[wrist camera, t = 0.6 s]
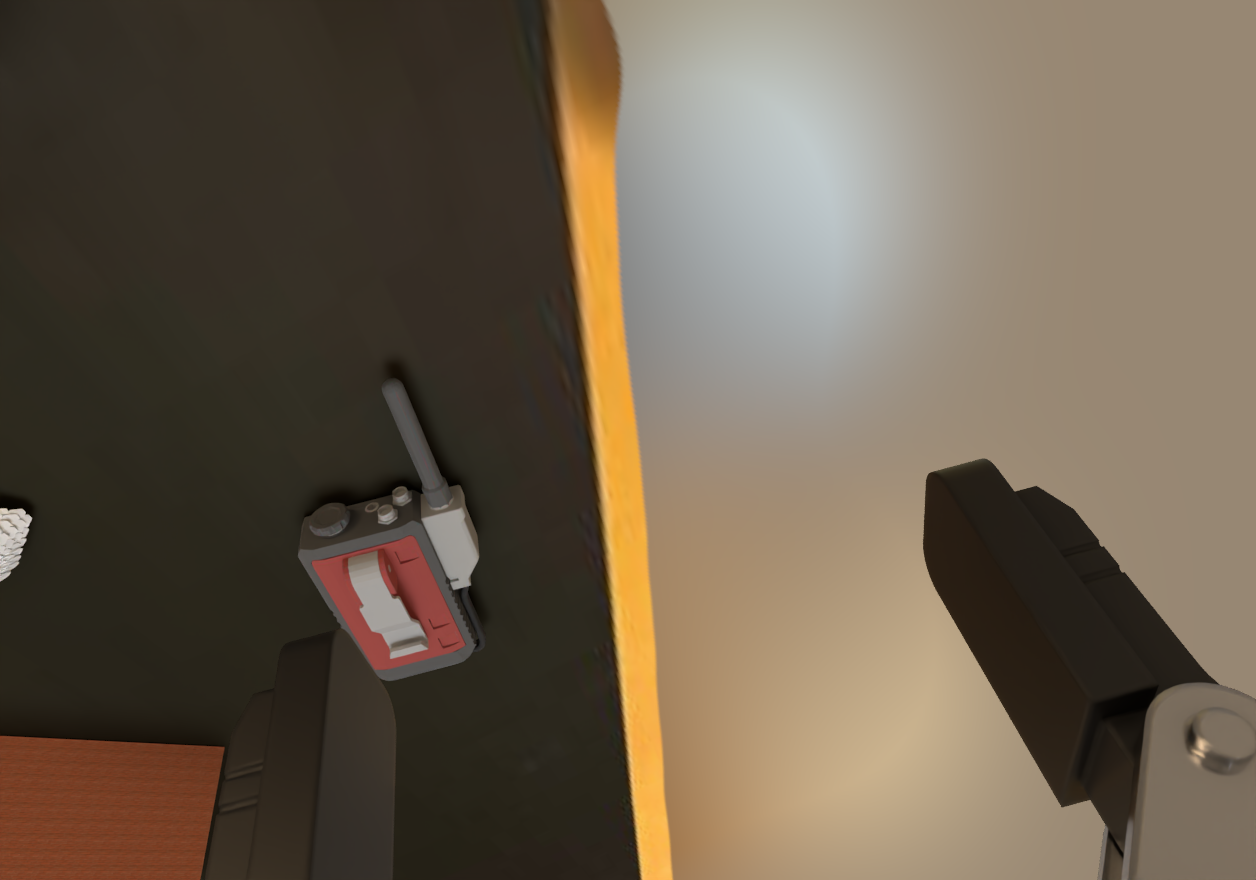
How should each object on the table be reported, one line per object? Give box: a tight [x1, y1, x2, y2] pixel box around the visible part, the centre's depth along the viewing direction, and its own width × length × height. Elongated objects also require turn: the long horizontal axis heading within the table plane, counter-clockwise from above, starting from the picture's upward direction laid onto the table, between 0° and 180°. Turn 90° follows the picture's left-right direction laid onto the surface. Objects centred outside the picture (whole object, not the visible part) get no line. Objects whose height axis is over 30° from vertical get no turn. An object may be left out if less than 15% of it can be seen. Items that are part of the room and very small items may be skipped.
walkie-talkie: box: [298, 378, 486, 681], centre depth 47 cm, size 9×4×20 cm
